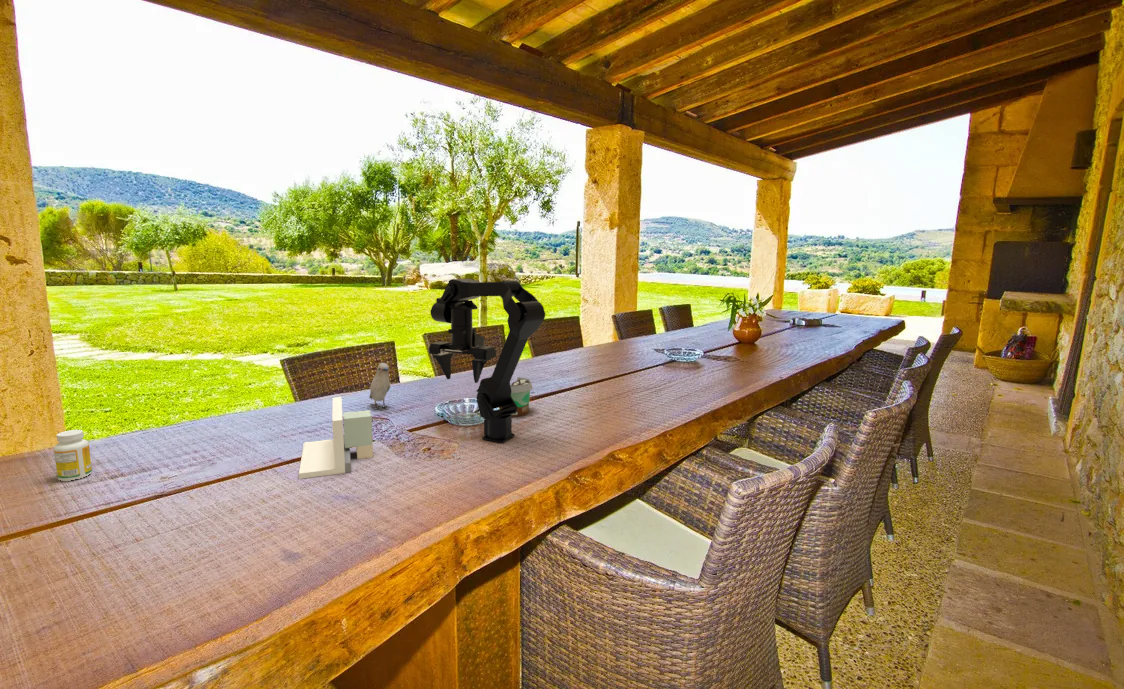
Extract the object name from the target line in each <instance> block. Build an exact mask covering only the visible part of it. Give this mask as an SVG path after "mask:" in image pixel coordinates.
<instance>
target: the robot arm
mask: <svg viewBox="0 0 1124 689" xmlns="http://www.w3.org/2000/svg"><path fill="white" fill-rule="evenodd" d="M480 297H500V298H501V299H502V306H503V310H505V312H506V314H507V315H508V316H507V326H508V330H509V331H508V335H507V336H506V338H505V339H506V340H505V341H504V344H503V346H502V349H501V351H500V354H499V356H498V360H497V362H496V365H495V367H494V370H493V372H492V374H491V376H490V377H486V378H482V379H481V380H480V378H481V375H482V372H483V370H484V367H485V365H486V364H487V362H488V361H491V360H492V358H493V359H494V358H496V357H497V350H496V348H495V347H494V346H491V345H490V346H489V345H484V344H485V339H486V337H485V336H483V335H480V334H478V333H477V331H476V330H477V329H476V328H475V327H473V310H478V305H476V304H475V303H474V301H473V300H475V299H478V298H480ZM513 297H514V298H515V300H517V302H516V301H515V300H514V298H513ZM435 300H436V302H434V303H433V305H432V306H431V309H430V312H429V313H430V316H431V318H432V320H434V321H435V322H439V323H445V324H450V328H448V331H447V332H448V334H450V337H451V342H450V341H441V340H440V341H436V342H431V343H430V345H429V346H428V354H429V355H431V354H432V358H434V359H435V360H436V361H437V363H438V364H439V366H440V368H441V369H442V372H443V374H444V376H445V378H446V380H451V376H452V364H451V363H452V358H453V355H454V353H455V354H461V355H462V354H464V355H472V357H473V359H471V366H472V375H473V381H474V383H475V384H478V383H479V386H478V388H477V389H476V403H477V407H478V411H479V416H480V418H483V436H481V439H482V440H485V441H490V442H496V443H500V444H503V443H505V442H507V441H509V440H510V439H512V438H513V437H515V433H513V432H512V428H513V427H512V425H513V424H512V422H513V421H512V418H513V417H512V415H511V414H515V413H516V411H517V405H516V404H515V402H514V400H513V399H512V397H511V391H512V390H511V380H512V377H513V376H514V373H515V371H516V368H517V366H518V364H519V361H520V358H521V357H522V354H523V352H524V349H525V347H526V344H527V341H528V339H529V338H530V337H531V336H532V335H533V334H534V333H535V332H536V331H537V330H538V329H539V328H540V326H542V323H543V322H544V320H545V318H546V311H545V308H544V306H543V304H542V303H541V302H540V301H539V300H538V299H537V298H536V296H535V295H533V294H532V293H531V292H529V291H528V290H526V289H525V288H524V287H523V286H522V284H520V282H519V281H517V280H514V279H512V280H501V281H485V282H481V281H479V280H477V279H471V278H453V279H452V278H451V279H449V280H448V283H447V285H446V287H445V289H444V290H443V293H442V295H441V297H437V298H436V299H435ZM479 381H480V382H479Z"/></svg>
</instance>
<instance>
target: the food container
mask: <svg viewBox="0 0 1124 689" xmlns="http://www.w3.org/2000/svg"><path fill="white" fill-rule="evenodd" d="M510 386H511V390H512V391H511V397H512V399H513V400H514V402H515V404H516V405H517V411H516V413H515V414H511V415H512V418H521V417H525V416H527V415H528V414H529V408H530V399H531V398H530V397H531V395H530V394H531V390H533V384H532V381H531V379H529V378H527V377H520V376H517V380H516V381H514V382H512V383H510Z"/></svg>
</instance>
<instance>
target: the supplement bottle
mask: <svg viewBox="0 0 1124 689" xmlns="http://www.w3.org/2000/svg"><path fill="white" fill-rule="evenodd" d="M56 441H57V442H58V443H56V444H55V445H54V447H53V454H54V460H55V461H54V462H55V469H56V475H57V477H56V478H57V480H59V481H60V480H61V481H60V482H72V481H71V480H74V481H76V480H75V479H79V480H81V479H80V478H82V479H84V478H83V477H85V476H87V477H89V476H90V475H89V474H92V473H93V467H92V458H91V450H90V443H89V441H88V440H86V439H84V431H83V430H82V429H72V430H71V429H70V430H66V431H61V432H58V433H57V434H56ZM88 475H89V476H88ZM85 478H86V477H85Z"/></svg>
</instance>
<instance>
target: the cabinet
mask: <svg viewBox="0 0 1124 689" xmlns="http://www.w3.org/2000/svg"><path fill="white" fill-rule="evenodd" d="M342 417H343V434H344V437H345V448H350V449H351V448H355V450H356V451H355V452H356V459H357V460H361V459H367V458H368V459H369V458H374V447H373V446H374V443H373V422H374V421H373V416H372V411H371V410H370V409H369V410H362V411H361V410H359V411H350V412H349V411H348V412H342Z"/></svg>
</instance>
